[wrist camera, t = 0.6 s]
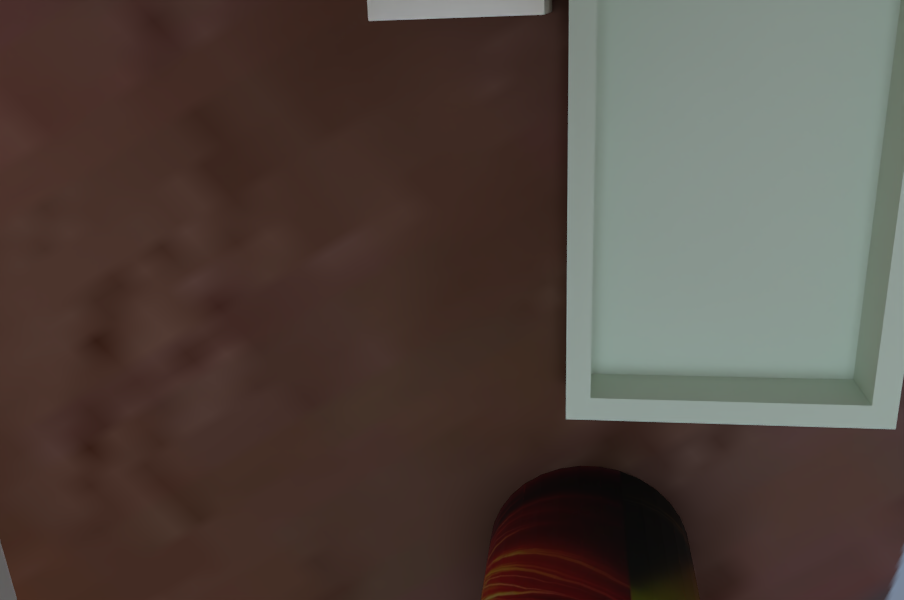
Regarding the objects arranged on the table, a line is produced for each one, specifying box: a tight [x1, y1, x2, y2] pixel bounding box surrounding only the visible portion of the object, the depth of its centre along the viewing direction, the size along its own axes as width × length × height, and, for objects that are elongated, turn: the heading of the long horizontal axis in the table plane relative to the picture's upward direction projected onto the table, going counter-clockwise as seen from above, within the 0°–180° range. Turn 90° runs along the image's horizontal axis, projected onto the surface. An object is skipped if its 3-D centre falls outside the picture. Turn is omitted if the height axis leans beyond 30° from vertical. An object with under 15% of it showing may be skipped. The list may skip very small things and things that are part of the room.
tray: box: [566, 0, 904, 429], centre depth 33 cm, size 22×13×4 cm, turn 2°
